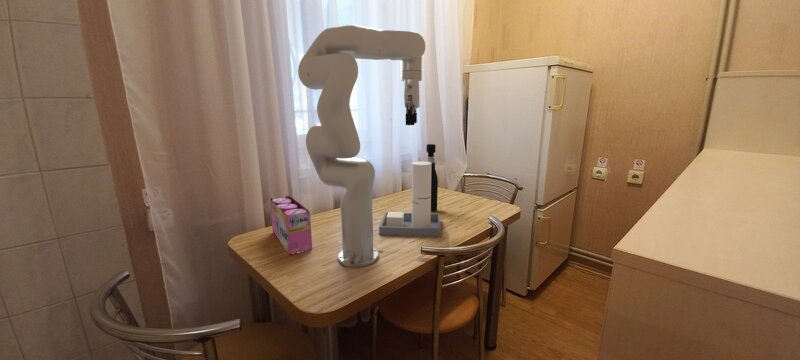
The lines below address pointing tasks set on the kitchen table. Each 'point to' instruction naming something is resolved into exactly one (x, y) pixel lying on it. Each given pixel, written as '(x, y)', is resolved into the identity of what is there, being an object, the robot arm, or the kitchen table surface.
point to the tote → (408, 229)
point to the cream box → (395, 219)
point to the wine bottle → (433, 176)
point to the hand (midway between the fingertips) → (411, 124)
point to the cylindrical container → (421, 194)
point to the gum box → (291, 224)
